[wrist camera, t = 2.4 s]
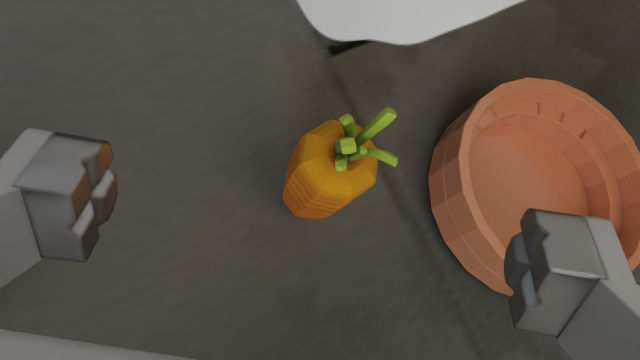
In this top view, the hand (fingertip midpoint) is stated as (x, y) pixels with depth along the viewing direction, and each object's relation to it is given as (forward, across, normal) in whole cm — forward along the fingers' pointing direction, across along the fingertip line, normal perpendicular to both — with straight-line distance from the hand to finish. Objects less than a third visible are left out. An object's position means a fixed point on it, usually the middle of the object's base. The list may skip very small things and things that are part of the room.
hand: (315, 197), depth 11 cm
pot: (+28, -17, +23) cm, 40 cm away
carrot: (+22, +1, +22) cm, 31 cm away
